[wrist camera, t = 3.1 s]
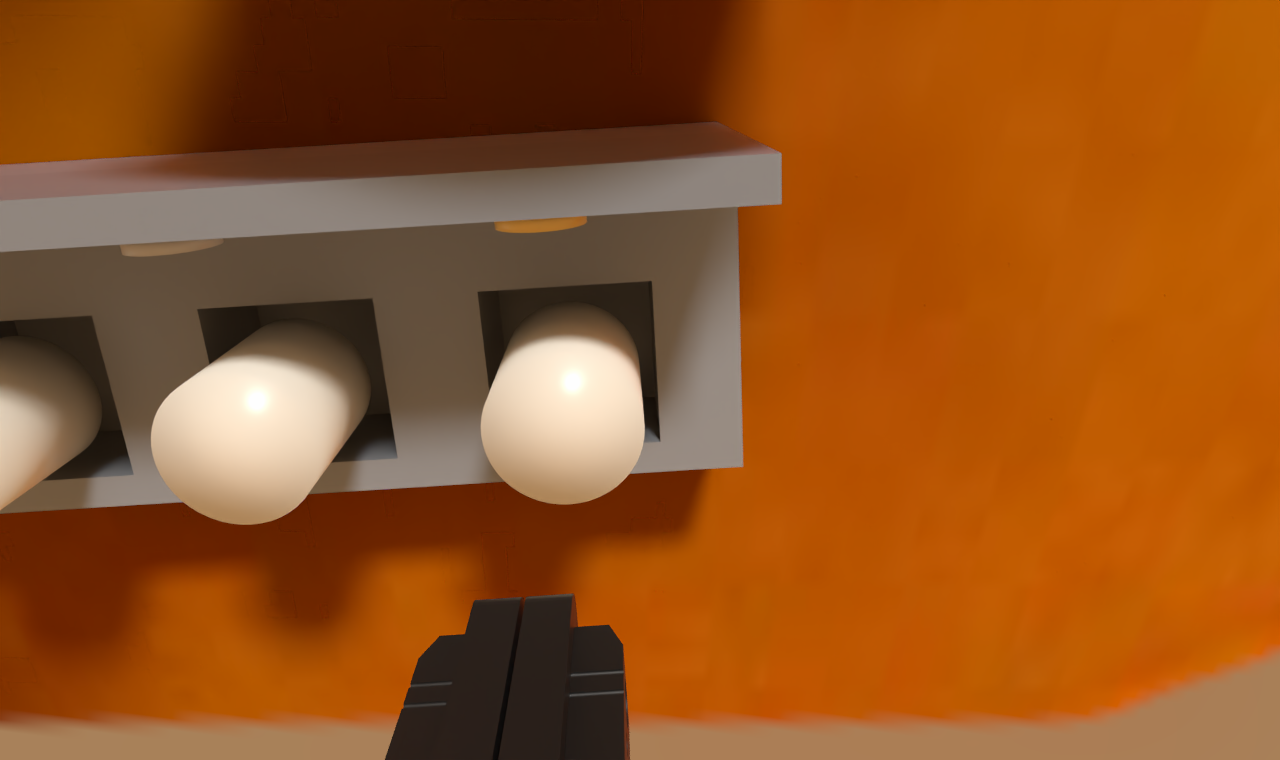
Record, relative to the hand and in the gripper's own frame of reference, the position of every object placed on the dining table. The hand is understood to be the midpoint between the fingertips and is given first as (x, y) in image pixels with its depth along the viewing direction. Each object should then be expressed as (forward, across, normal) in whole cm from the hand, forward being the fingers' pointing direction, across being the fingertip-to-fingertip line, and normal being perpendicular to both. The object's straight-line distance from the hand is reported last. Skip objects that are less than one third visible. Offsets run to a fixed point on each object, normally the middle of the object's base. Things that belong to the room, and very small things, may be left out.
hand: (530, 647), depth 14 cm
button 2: (+14, 0, 0) cm, 14 cm away
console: (+18, +8, -2) cm, 20 cm away
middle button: (+14, +8, 0) cm, 16 cm away
